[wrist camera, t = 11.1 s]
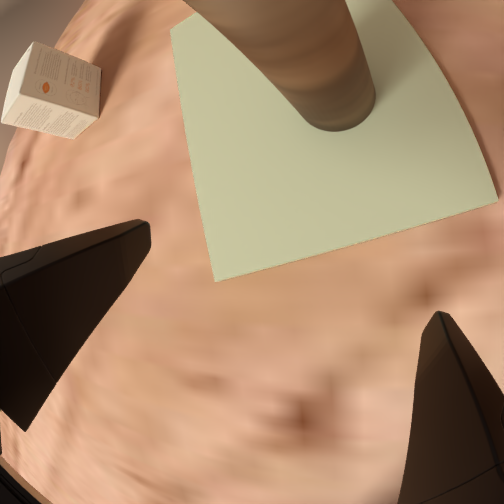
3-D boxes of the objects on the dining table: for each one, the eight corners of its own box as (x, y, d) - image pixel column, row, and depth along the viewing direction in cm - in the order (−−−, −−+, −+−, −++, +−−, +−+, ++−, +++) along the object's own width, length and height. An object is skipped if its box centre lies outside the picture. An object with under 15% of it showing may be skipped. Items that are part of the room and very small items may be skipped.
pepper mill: (392, 94, 15) (316, -127, 2) (333, 148, 17) (162, -29, 4) (334, 50, 16) (216, -123, 4) (281, 98, 18) (112, -43, 6)
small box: (77, 91, 32) (12, 69, 23) (103, 67, 29) (33, 38, 20) (73, 141, 31) (-2, 124, 22) (100, 118, 29) (18, 93, 19)
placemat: (496, 202, 13) (498, 200, 12) (220, 281, 21) (215, 281, 20) (343, -49, 16) (341, -53, 15) (173, 32, 24) (169, 29, 23)
